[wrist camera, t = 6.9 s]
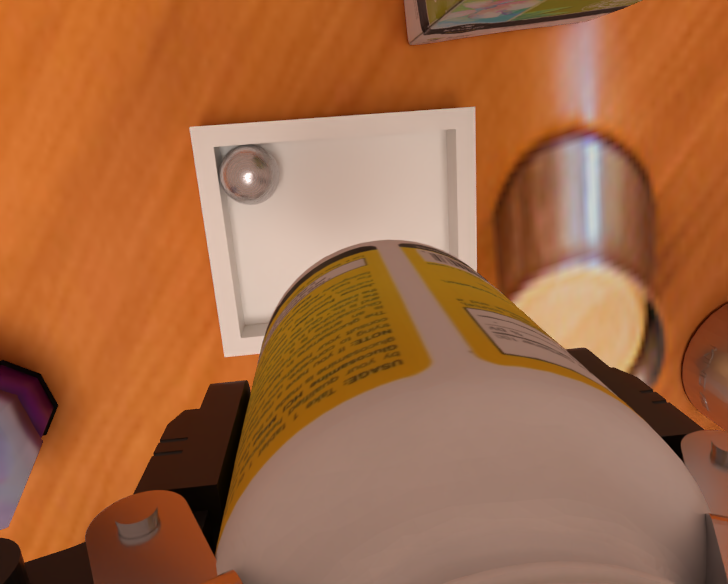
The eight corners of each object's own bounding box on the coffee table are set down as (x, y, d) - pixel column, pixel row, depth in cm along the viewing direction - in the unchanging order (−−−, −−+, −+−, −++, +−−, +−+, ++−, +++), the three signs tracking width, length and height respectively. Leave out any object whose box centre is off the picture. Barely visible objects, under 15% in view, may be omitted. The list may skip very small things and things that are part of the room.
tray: (459, 108, 31) (475, 106, 28) (463, 314, 34) (477, 332, 31) (200, 126, 30) (189, 127, 27) (231, 336, 33) (224, 357, 30)
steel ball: (277, 141, 29) (274, 143, 26) (283, 198, 30) (281, 206, 27) (219, 145, 29) (210, 147, 26) (227, 203, 30) (219, 211, 27)
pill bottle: (276, 470, 15) (178, 1297, 4) (249, 244, 13) (-19, 718, 3) (503, 449, 15) (915, 1160, 5) (507, 226, 14) (1177, 576, 3)
